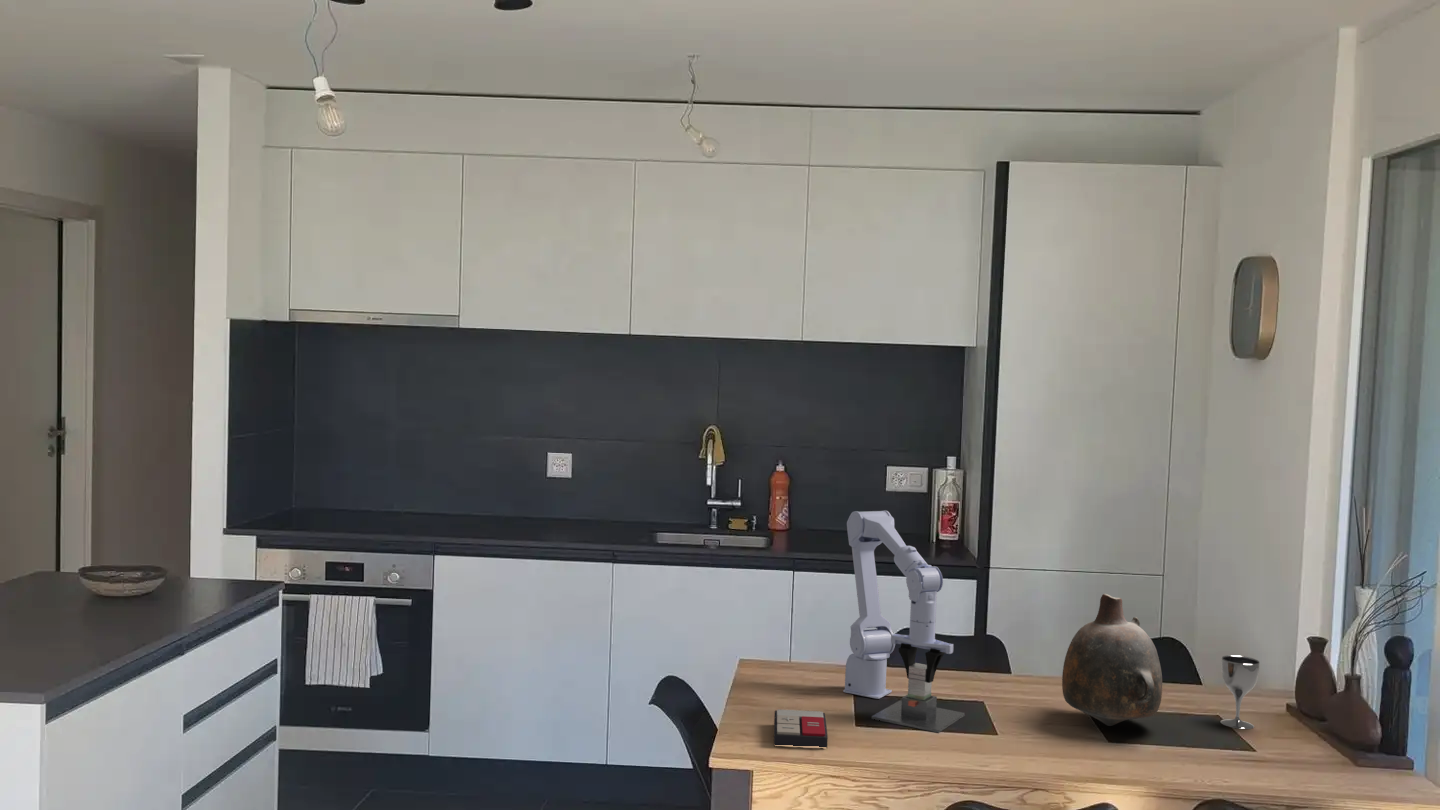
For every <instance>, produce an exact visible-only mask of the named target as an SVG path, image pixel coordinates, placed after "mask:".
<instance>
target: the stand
mask: <svg viewBox="0 0 1440 810" xmlns="http://www.w3.org/2000/svg"><path fill="white" fill-rule="evenodd" d="M937 700H938V697H937V696H934V695H931V698H930V699H929V700H927V701H920V700H915V699H910V698H908V694H906V695H904V696H902V697H901V699H900V700H898V701H896V702H895V703H893V704H891V705H889V706H887V707H885V708H884V709H882V710H880V711H879V712H876V713H874V714H873V715H871V720H874V719H875V720H874V721H879V720H880V722H884V723H888V724H895V725H899V726H905V727H908V728H914V729H919V730H923V731H928V732H932V733H938V734H939V733H941V732H942V731H944V730H945V729H947V728H948V727H950V726H951V725H953V724H954V723H956V722H958V721H959V720H960V719H962V718H963V717H965V716H966V714H965V712H962V711H956V710H952V709H946V708H941V707H937Z"/></svg>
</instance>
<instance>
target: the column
mask: <svg viewBox="0 0 1440 810" xmlns="http://www.w3.org/2000/svg"><path fill="white" fill-rule="evenodd" d="M926 677H927V664H924V663H918V662H915V664H913V665H911V666H909V677H908V678H909V679H908V678H907V679H908V683H907V695H908V698H910V699H915V700H920V701H927V700H929V699H930V698H931V696H932V685H933V681H932V682H930V683H928V682H927V680H926Z"/></svg>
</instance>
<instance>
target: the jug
mask: <svg viewBox="0 0 1440 810" xmlns="http://www.w3.org/2000/svg"><path fill="white" fill-rule="evenodd" d="M1124 614H1125V613H1124V610H1123V599H1122V598H1121V597H1114V596H1111V595H1110V594H1107V593H1102V595H1101V596H1100V599H1099V607H1098V611H1097V615H1096V617H1095V619H1094V620H1092V621H1090V622H1087V623H1085V624H1084V625H1083V626H1081V628H1079V629H1078V630H1077V631H1076V633H1075V634H1074V636H1073V637H1072V639H1071V641H1070V643H1069V645H1068V648H1067V650H1066V653H1065V657H1064V662H1063V666H1062V667H1063V668H1062V675H1061V676H1062V677H1061V680H1062V681H1061V682H1062V683H1061V687H1062V689H1061V690H1062V694H1063V695H1062V696H1063V698H1064V700H1065V702H1066V703H1067V704H1068V705H1069V706H1070V707H1072V708H1074V709H1075V710H1077V711H1080V712H1082V713H1084V714H1086V715H1087V716H1088V715H1089V716H1090V717H1092V718H1094V719H1097V720H1098V721H1099V722H1101V723H1102V724H1104V725H1106V726H1108V727H1111V726H1115V725H1117V724H1119V723H1121V722H1124V721H1128V720H1136V719H1145V718H1149V717H1153V716H1154V715H1156V714H1157V712H1158V710H1159V709H1160V707H1161V703H1162V698H1163V697H1162V696H1163V675H1162V667H1161V663H1160V659H1159V658H1160V657H1159V655H1158V651H1157V648H1156V646H1155V645H1156V644H1154V642H1153V640H1152V638H1151V637H1150V636H1149V634H1147V632H1146V631H1145V630H1144V629H1143V628H1142V627H1140V626H1141V623H1140V620H1139V618H1138V617H1137V616H1135V617H1133V618H1132V620H1131V621H1128V620H1126V618H1125V615H1124Z"/></svg>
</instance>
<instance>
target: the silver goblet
mask: <svg viewBox="0 0 1440 810" xmlns="http://www.w3.org/2000/svg"><path fill="white" fill-rule="evenodd" d="M1259 672H1260V660H1258V659H1255V658H1253V657H1249V656H1245V655H1244V656H1243V655H1232V654H1231V655H1230V654H1229V655H1223V656H1222V657H1221V675H1222V679H1223V682H1224V684H1225V686H1226V687H1227V689H1228V690H1229V691H1230V692H1231V693H1232V695H1233V698H1234V701H1235V716H1234V717H1235V718H1233V719H1232V718H1227V719H1221V720H1220V724H1222V725H1223V726H1226V727H1229V728H1233V729H1238V730H1250V729H1251V730H1252V729H1254V728H1255V725H1254V724H1252V723H1250V722H1249V721H1244V720H1242V719H1241V718H1240V712H1241V711H1240V710H1241V705H1242V701H1243V699H1244V697H1245V696H1246V695H1247V694H1248V693H1249V692H1251V691H1252V690H1253V689H1254V688H1255V686H1256V684H1257V682H1258V678H1259V674H1260V673H1259Z"/></svg>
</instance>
